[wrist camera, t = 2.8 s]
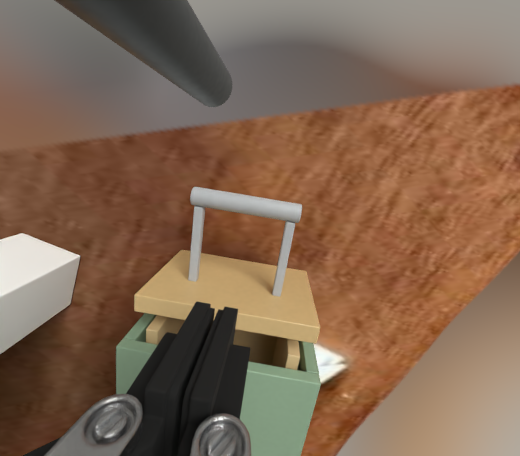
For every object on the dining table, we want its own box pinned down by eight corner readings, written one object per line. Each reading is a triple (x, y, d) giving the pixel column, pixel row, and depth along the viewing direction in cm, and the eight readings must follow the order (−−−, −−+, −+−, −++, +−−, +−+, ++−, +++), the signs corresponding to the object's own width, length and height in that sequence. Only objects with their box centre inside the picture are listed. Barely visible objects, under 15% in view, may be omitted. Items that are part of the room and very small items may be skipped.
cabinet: (176, 275, 25) (115, 346, 15) (304, 298, 24) (321, 384, 15) (168, 391, 29) (116, 502, 19) (278, 411, 28) (278, 534, 19)
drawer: (186, 175, 21) (135, 185, 13) (323, 198, 21) (348, 221, 13) (172, 368, 27) (131, 451, 19) (279, 388, 26) (280, 480, 19)
